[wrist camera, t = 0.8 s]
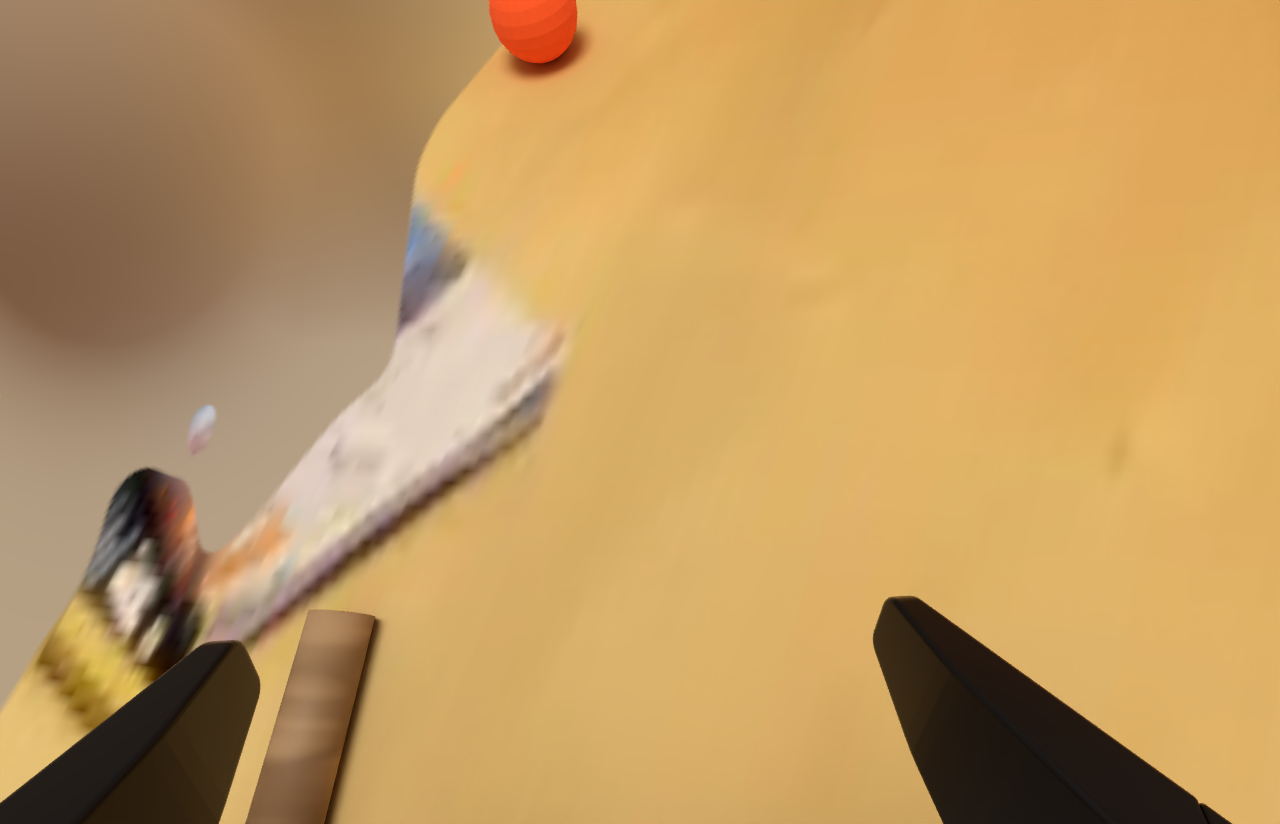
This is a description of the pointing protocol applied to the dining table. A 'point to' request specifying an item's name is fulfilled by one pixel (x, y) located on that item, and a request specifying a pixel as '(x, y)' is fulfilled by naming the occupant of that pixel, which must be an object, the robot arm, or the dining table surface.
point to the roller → (312, 720)
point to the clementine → (534, 27)
